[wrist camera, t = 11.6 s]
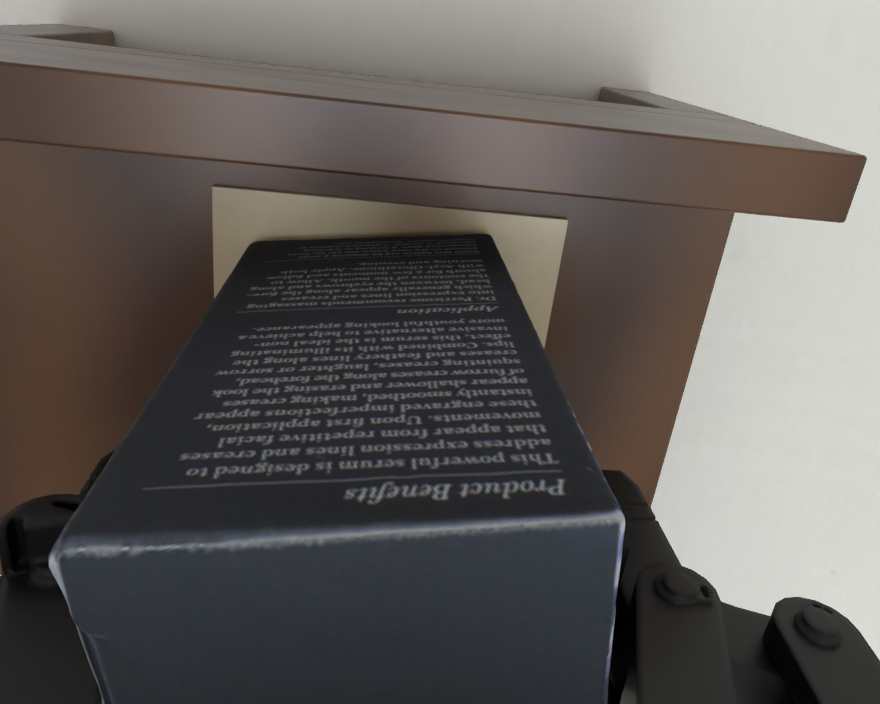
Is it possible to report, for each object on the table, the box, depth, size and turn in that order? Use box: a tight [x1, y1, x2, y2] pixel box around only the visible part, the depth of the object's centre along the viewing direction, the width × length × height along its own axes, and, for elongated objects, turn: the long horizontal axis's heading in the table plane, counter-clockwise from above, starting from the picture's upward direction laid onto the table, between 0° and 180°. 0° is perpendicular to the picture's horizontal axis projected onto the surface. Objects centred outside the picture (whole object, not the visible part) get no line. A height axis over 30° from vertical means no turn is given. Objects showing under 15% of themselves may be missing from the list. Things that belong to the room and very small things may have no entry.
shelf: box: [0, 24, 867, 576], centre depth 20 cm, size 18×14×12 cm
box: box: [48, 234, 625, 704], centre depth 13 cm, size 8×6×11 cm
